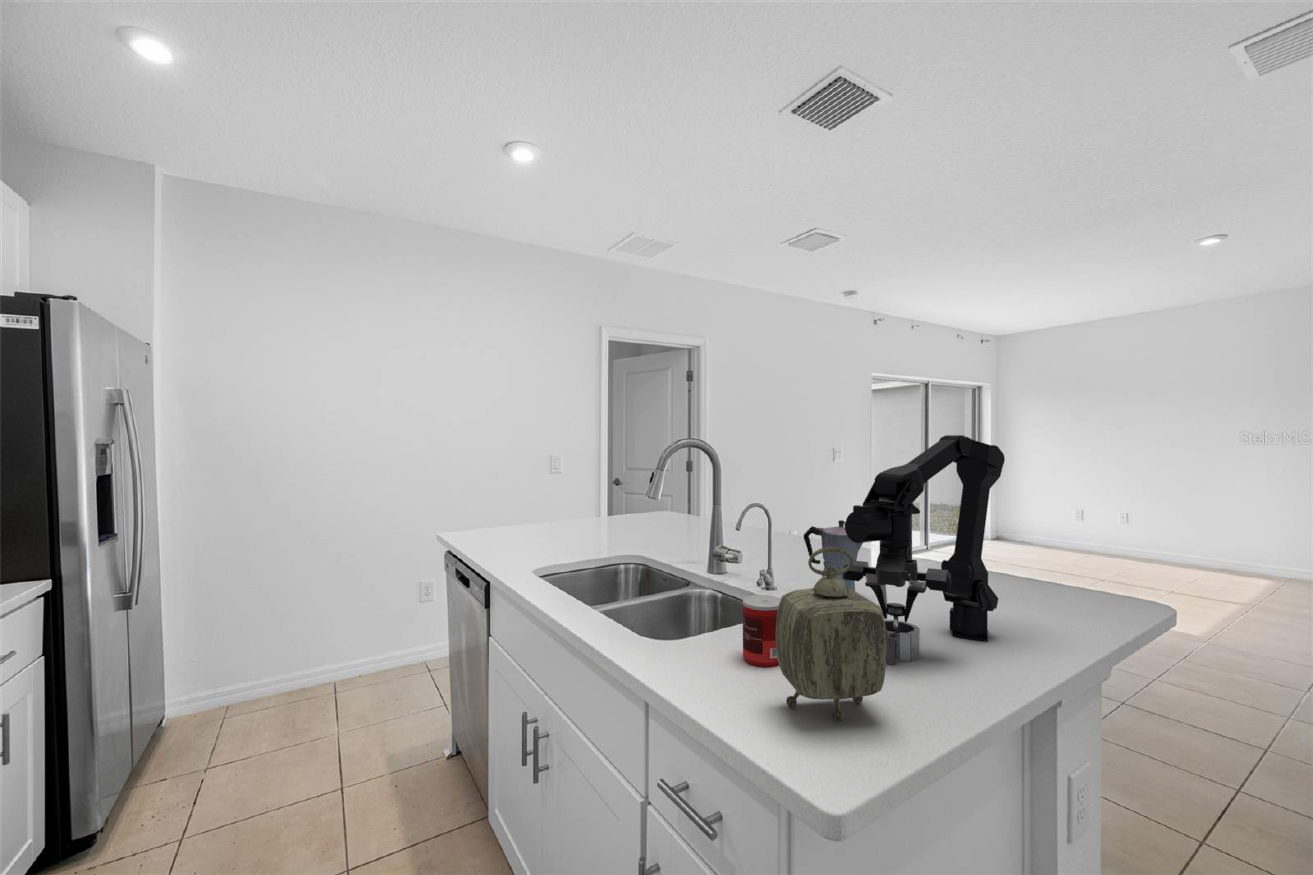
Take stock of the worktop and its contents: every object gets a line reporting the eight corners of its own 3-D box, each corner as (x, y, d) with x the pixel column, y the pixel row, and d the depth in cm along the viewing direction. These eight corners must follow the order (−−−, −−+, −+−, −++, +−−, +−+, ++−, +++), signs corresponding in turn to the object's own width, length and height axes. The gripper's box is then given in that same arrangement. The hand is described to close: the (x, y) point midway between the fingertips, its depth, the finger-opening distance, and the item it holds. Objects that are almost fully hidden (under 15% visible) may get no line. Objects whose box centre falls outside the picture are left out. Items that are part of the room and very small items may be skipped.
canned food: (787, 654, 111) (786, 596, 111) (781, 670, 103) (781, 608, 103) (747, 649, 113) (746, 593, 113) (739, 664, 106) (738, 604, 106)
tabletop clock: (863, 697, 93) (863, 540, 92) (893, 725, 84) (893, 552, 83) (775, 702, 91) (775, 543, 91) (796, 732, 82) (795, 555, 82)
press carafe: (921, 649, 112) (921, 624, 112) (915, 669, 103) (915, 641, 103) (877, 642, 116) (876, 617, 116) (867, 661, 107) (867, 633, 107)
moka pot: (871, 607, 140) (871, 523, 139) (804, 603, 143) (804, 522, 142) (865, 595, 149) (864, 518, 149) (803, 592, 152) (802, 516, 152)
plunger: (911, 647, 112) (910, 604, 112) (907, 656, 108) (907, 610, 107) (884, 643, 114) (884, 600, 114) (880, 651, 110) (880, 607, 110)
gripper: (835, 541, 108) (836, 624, 108) (947, 550, 99) (947, 642, 99) (848, 531, 118) (848, 608, 118) (951, 540, 109) (951, 623, 109)
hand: (895, 620), depth 111 cm, fingers closed on plunger, 3 cm apart
